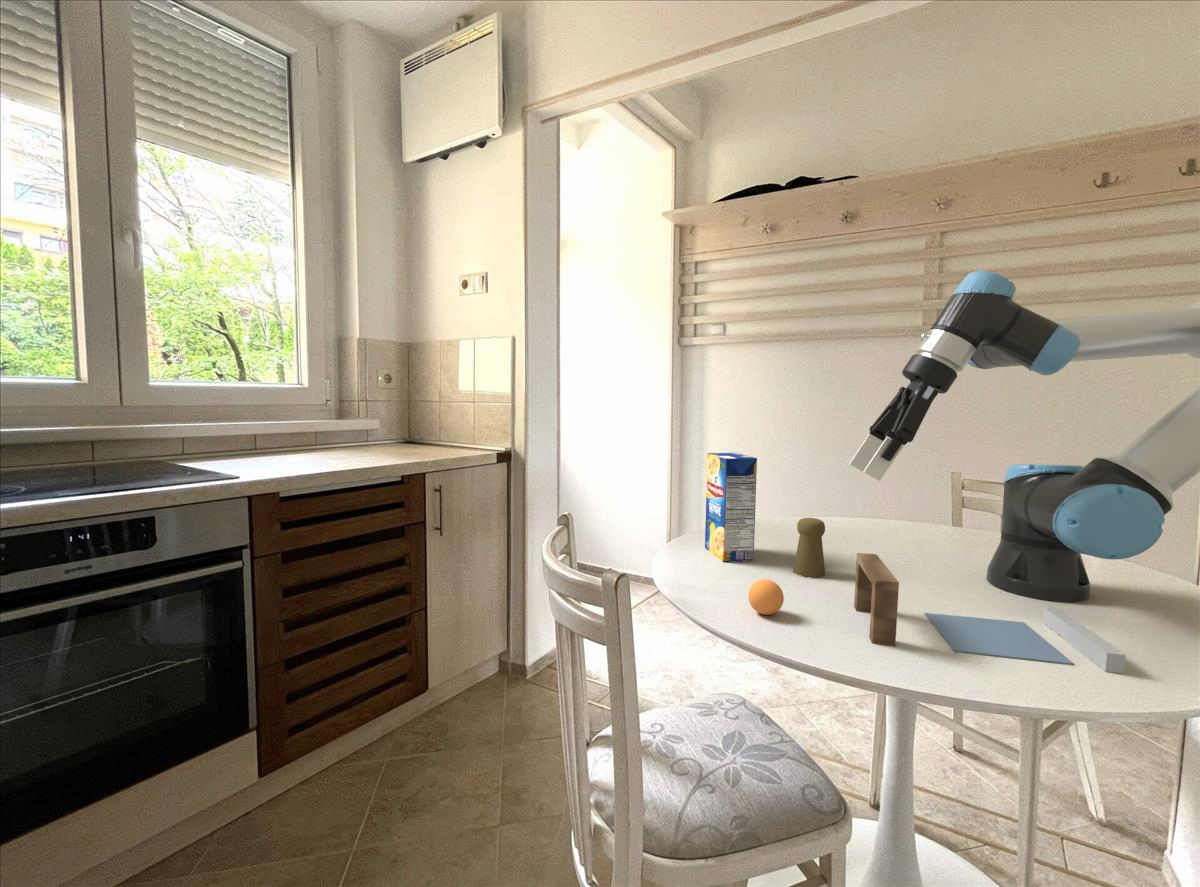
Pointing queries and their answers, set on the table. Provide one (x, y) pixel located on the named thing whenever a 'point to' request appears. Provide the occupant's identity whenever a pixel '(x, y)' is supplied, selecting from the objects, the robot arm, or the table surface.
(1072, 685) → the table surface
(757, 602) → the ball
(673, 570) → the table surface
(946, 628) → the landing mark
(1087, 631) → the wall
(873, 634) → the bridge
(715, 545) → the beverage box
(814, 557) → the cork
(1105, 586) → the table surface
